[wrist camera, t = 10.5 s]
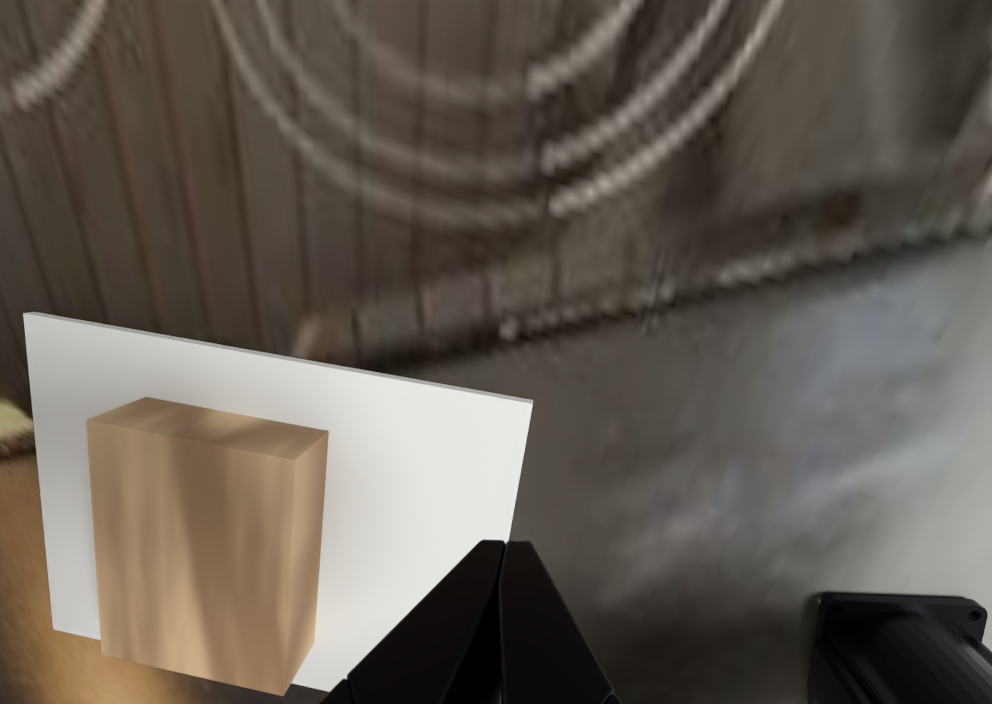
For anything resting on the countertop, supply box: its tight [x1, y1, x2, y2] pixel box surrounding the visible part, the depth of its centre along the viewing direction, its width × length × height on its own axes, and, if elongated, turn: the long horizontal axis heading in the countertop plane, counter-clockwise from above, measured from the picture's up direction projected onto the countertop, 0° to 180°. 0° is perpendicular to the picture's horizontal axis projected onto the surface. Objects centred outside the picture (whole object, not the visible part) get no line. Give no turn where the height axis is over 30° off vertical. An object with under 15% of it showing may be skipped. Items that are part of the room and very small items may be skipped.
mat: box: [23, 312, 533, 692], centre depth 24 cm, size 24×18×1 cm
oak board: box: [86, 397, 329, 696], centre depth 22 cm, size 3×12×9 cm
